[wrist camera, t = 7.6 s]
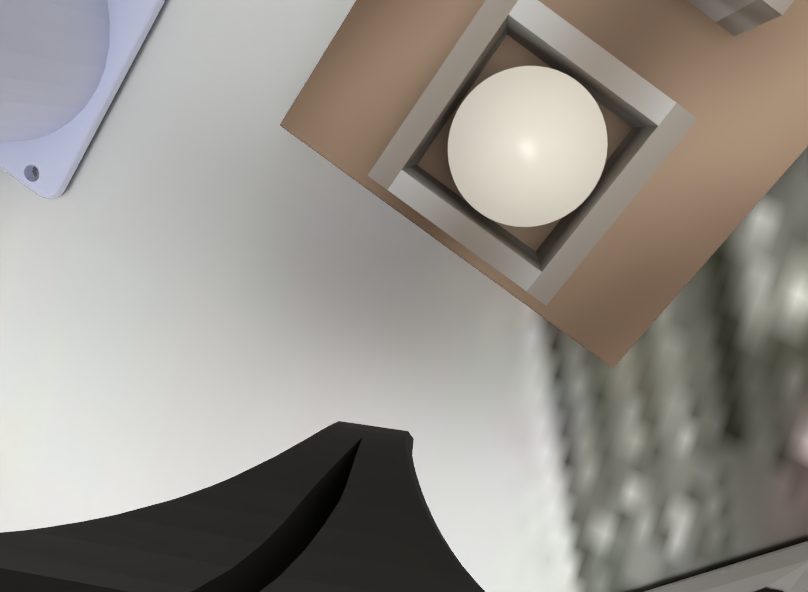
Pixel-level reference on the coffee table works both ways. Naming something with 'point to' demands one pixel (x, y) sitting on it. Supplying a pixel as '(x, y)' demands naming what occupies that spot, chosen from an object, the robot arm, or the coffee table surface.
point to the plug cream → (527, 146)
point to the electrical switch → (752, 574)
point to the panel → (625, 124)
